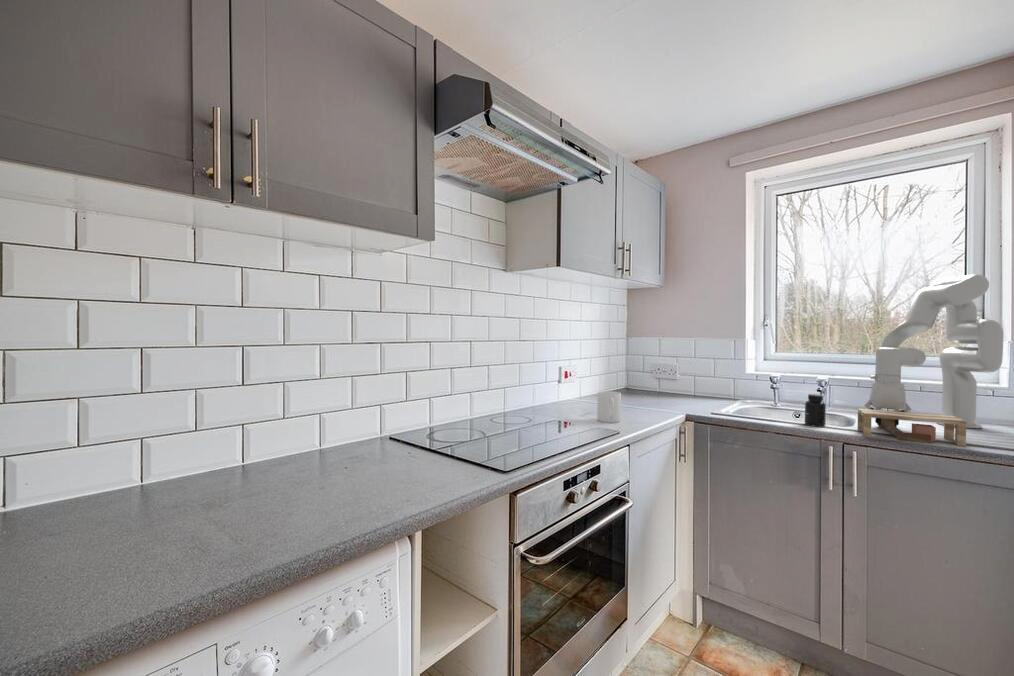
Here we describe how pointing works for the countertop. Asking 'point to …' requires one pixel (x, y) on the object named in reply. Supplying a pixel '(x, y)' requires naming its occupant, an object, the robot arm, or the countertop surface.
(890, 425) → the crook
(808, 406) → the supplement bottle
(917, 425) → the cube
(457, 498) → the countertop surface
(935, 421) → the low bench
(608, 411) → the mug
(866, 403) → the robot arm
